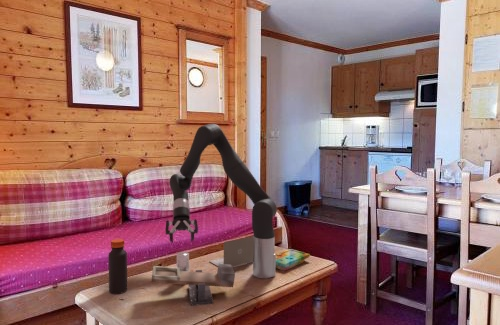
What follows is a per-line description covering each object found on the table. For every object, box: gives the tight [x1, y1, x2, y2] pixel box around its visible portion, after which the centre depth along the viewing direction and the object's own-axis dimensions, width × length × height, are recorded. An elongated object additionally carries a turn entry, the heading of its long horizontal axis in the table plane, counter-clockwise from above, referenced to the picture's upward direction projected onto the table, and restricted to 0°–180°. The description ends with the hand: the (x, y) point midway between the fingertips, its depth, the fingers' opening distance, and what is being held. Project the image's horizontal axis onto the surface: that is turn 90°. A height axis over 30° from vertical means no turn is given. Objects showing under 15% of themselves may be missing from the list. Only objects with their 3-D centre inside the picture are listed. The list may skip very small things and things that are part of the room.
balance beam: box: [150, 264, 236, 288], centre depth 142 cm, size 30×10×5 cm, turn 102°
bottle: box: [108, 238, 128, 295], centre depth 146 cm, size 7×7×20 cm
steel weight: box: [176, 251, 190, 286], centre depth 155 cm, size 5×5×12 cm
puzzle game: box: [274, 248, 311, 272], centre depth 180 cm, size 12×5×20 cm
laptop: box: [209, 235, 254, 268], centre depth 180 cm, size 18×12×13 cm
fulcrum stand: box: [188, 269, 214, 307], centre depth 143 cm, size 8×16×7 cm, turn 12°
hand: (182, 241), depth 164 cm, fingers open, 8 cm apart
